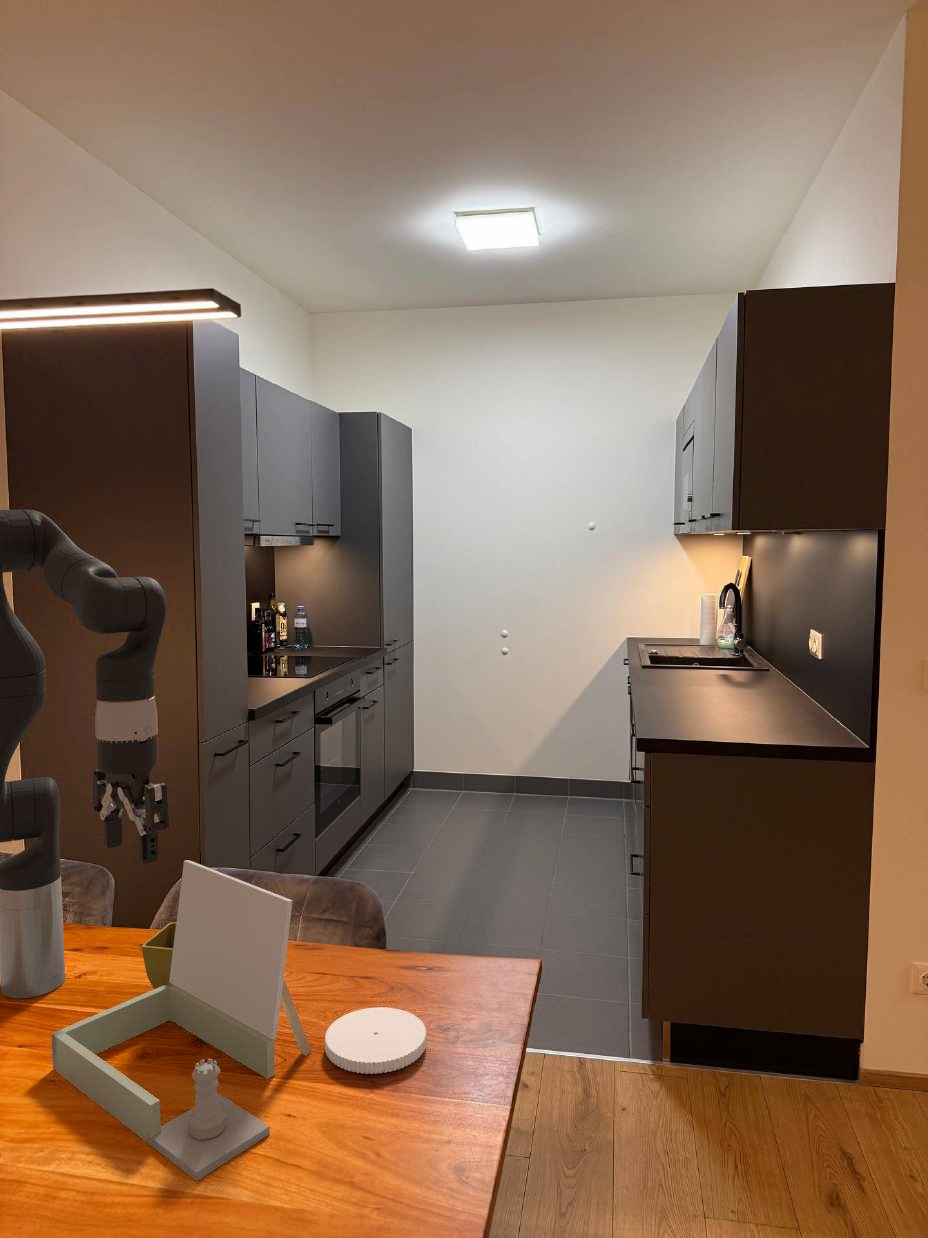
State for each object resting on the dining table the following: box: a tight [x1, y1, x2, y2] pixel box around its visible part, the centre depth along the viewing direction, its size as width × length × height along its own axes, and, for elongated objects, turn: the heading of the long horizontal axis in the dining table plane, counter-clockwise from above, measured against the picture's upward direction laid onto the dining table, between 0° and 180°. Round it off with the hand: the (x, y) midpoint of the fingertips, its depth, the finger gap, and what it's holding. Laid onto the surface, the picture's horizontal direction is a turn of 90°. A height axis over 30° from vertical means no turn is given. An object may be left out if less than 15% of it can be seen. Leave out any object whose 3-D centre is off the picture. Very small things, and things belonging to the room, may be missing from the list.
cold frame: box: [51, 979, 312, 1145], centre depth 120 cm, size 24×24×12 cm
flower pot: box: [141, 921, 177, 990], centre depth 139 cm, size 9×9×9 cm
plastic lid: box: [324, 1006, 427, 1075], centre depth 123 cm, size 14×14×2 cm
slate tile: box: [146, 1093, 271, 1182], centre depth 105 cm, size 10×10×1 cm
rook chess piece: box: [188, 1058, 227, 1140], centre depth 104 cm, size 4×4×8 cm
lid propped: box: [169, 859, 293, 1040], centre depth 125 cm, size 24×4×18 cm, turn 51°
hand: (130, 854), depth 116 cm, fingers open, 8 cm apart
